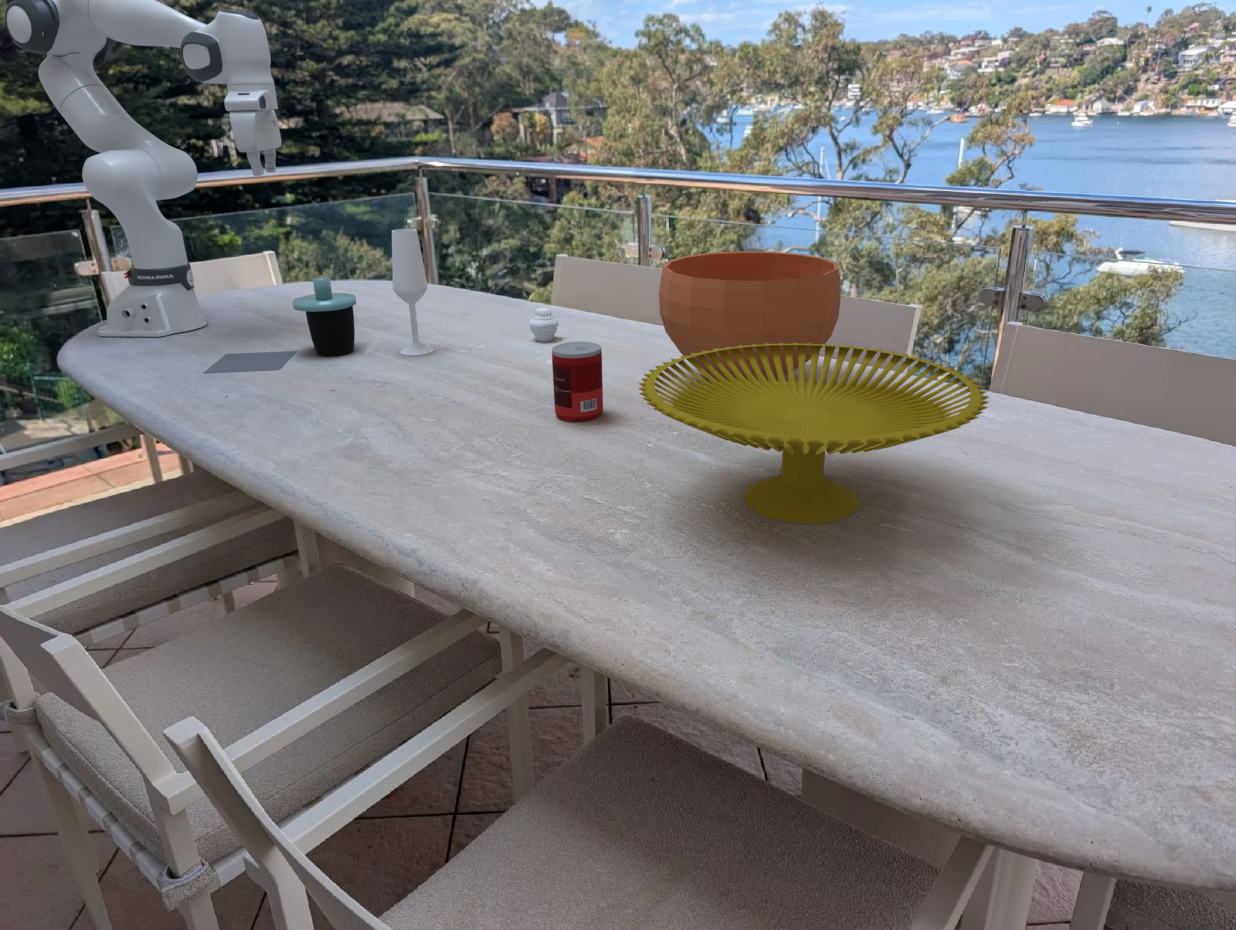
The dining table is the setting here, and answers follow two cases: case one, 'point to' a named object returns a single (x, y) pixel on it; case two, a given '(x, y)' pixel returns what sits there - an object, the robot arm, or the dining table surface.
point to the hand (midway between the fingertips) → (264, 173)
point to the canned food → (577, 381)
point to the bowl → (749, 304)
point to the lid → (323, 298)
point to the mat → (251, 362)
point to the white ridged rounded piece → (543, 324)
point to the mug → (332, 331)
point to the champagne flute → (409, 280)
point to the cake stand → (810, 417)
